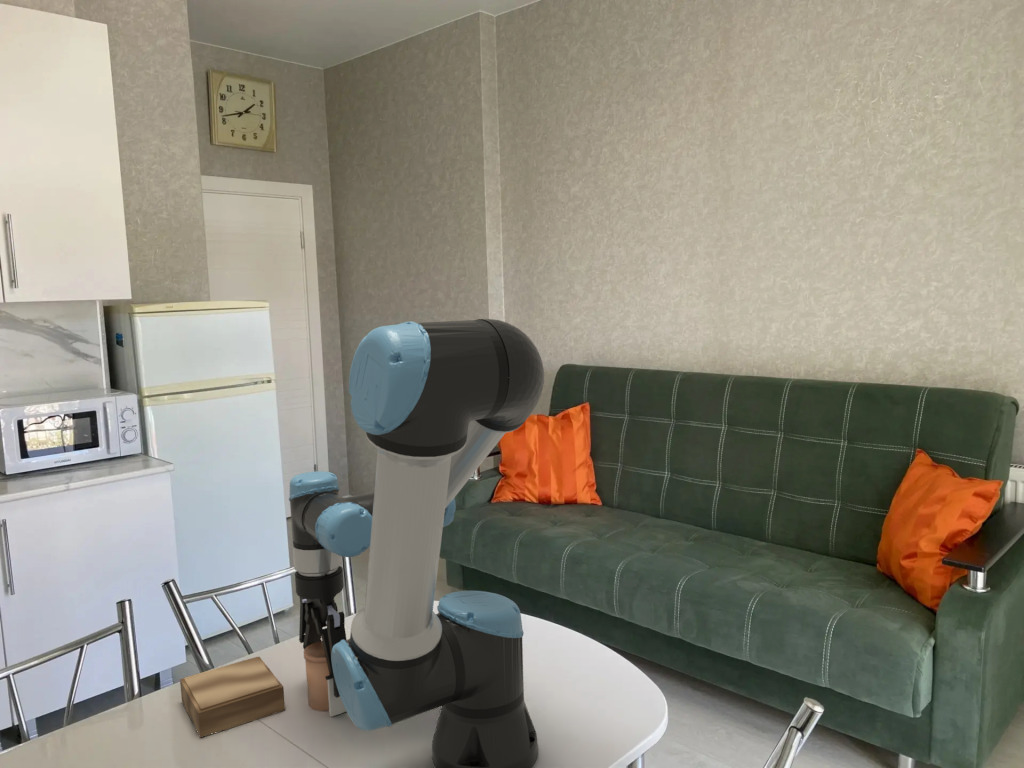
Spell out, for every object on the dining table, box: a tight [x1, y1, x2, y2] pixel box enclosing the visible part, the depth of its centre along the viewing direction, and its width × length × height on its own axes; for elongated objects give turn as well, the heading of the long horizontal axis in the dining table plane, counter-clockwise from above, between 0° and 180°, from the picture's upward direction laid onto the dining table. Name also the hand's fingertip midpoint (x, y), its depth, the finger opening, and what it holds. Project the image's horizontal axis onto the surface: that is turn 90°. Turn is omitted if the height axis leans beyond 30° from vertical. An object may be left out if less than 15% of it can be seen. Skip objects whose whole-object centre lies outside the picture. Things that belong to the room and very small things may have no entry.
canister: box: [303, 640, 329, 712], centre depth 127 cm, size 6×6×9 cm
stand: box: [179, 656, 286, 738], centre depth 126 cm, size 13×13×4 cm
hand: (326, 699), depth 127 cm, fingers open, 9 cm apart
